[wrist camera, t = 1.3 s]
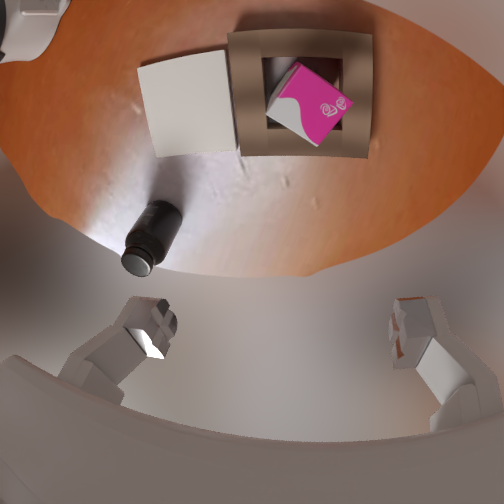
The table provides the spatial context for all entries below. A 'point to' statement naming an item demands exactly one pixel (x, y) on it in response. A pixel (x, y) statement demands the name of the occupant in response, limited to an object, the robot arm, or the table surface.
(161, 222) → the supplement bottle
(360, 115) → the walnut holder
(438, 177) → the table surface
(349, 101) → the supplement box
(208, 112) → the white rectangular plate
